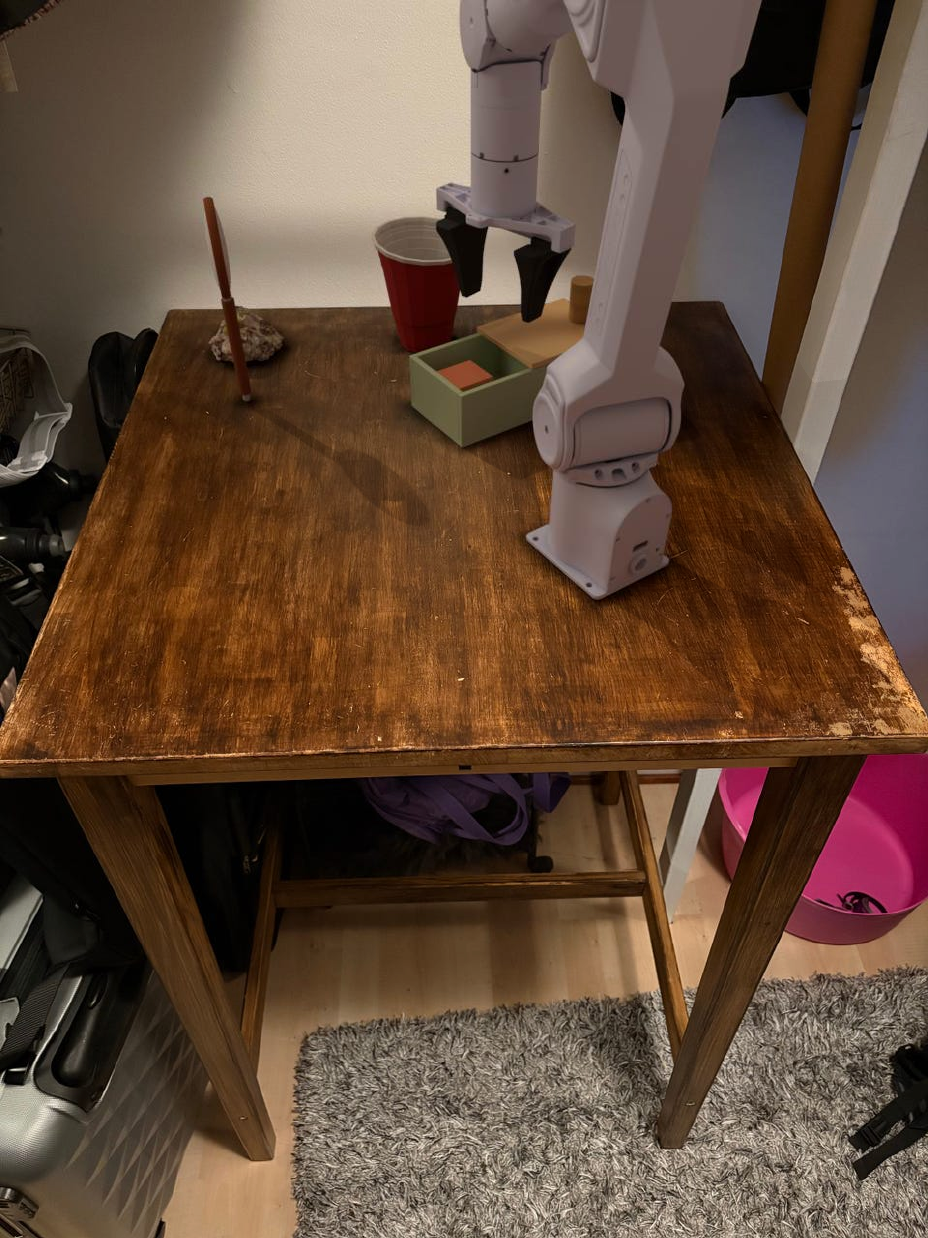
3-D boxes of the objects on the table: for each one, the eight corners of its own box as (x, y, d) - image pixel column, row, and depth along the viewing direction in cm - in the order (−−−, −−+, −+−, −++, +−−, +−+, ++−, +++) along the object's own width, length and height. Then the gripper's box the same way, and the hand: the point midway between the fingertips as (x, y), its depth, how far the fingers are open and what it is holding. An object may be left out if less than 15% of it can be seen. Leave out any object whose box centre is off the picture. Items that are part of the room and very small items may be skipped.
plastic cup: (455, 373, 97) (453, 262, 88) (363, 356, 100) (353, 247, 91) (488, 327, 104) (490, 221, 96) (402, 313, 107) (396, 208, 98)
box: (553, 412, 91) (557, 361, 87) (461, 448, 87) (461, 396, 83) (500, 373, 97) (501, 324, 93) (411, 405, 92) (408, 355, 88)
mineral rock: (289, 342, 97) (211, 331, 94) (283, 380, 100) (208, 370, 97) (280, 301, 105) (208, 290, 102) (275, 337, 107) (205, 327, 105)
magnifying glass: (235, 381, 96) (195, 183, 82) (252, 378, 96) (214, 181, 82) (242, 424, 90) (200, 219, 76) (259, 422, 90) (221, 216, 76)
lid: (621, 337, 91) (626, 293, 87) (531, 369, 86) (534, 324, 83) (563, 303, 96) (566, 260, 93) (476, 331, 92) (477, 287, 88)
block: (492, 412, 90) (493, 376, 87) (459, 425, 89) (459, 388, 86) (470, 395, 93) (470, 359, 90) (437, 406, 91) (436, 371, 88)
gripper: (409, 143, 77) (416, 296, 87) (541, 184, 70) (532, 346, 80) (465, 123, 81) (466, 272, 90) (596, 161, 74) (581, 318, 83)
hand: (500, 305), depth 85 cm, fingers open, 7 cm apart
